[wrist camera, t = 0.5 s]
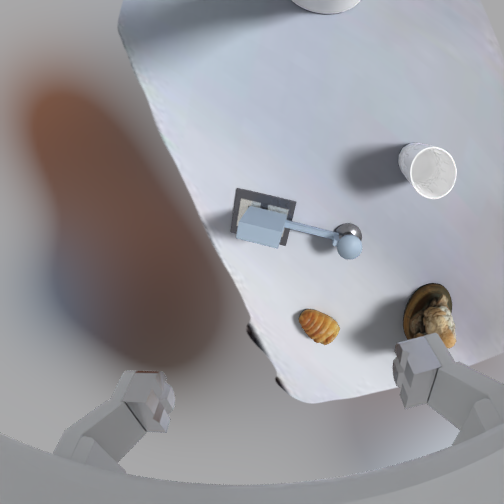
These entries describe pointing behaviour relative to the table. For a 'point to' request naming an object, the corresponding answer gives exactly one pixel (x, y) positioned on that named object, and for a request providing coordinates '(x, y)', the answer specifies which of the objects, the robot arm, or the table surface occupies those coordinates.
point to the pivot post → (349, 230)
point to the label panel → (265, 202)
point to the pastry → (319, 326)
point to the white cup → (428, 169)
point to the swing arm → (272, 225)
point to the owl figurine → (430, 314)
